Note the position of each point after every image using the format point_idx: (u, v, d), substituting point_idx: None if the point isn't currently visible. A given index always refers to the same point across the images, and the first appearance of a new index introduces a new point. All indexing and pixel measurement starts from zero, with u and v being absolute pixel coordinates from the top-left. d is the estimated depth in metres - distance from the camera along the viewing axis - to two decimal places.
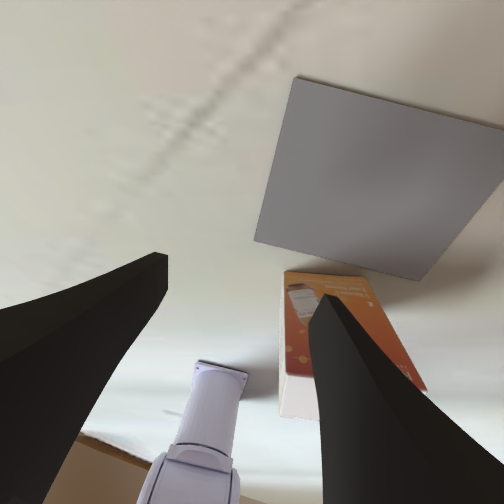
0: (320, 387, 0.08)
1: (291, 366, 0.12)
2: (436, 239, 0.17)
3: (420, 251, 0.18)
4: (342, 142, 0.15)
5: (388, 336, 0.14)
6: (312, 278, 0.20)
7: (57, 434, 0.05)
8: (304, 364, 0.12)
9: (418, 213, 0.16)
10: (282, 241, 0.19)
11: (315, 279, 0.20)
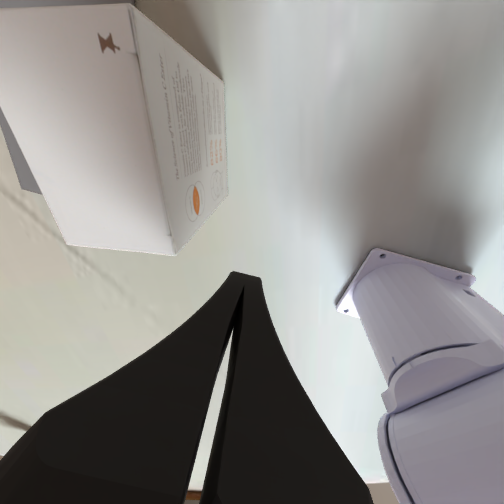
0: (229, 365, 0.08)
1: None
2: None
3: None
4: None
5: None
6: None
7: (192, 465, 0.05)
8: None
9: None
10: None
11: None
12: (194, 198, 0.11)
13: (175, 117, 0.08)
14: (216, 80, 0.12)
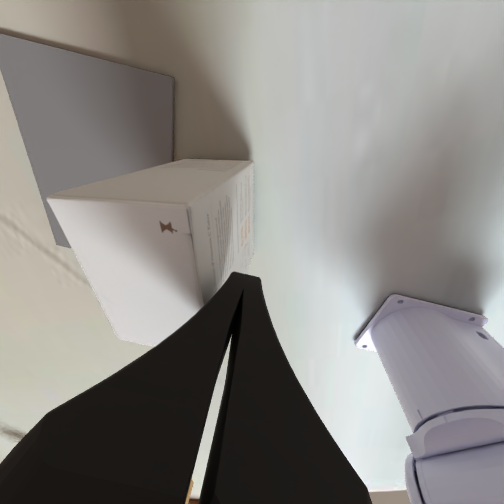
0: (228, 365, 0.08)
1: None
2: (110, 85, 0.14)
3: (130, 99, 0.14)
4: None
5: None
6: None
7: (194, 466, 0.05)
8: None
9: (93, 123, 0.15)
10: None
11: None
12: None
13: (216, 247, 0.09)
14: (248, 169, 0.13)
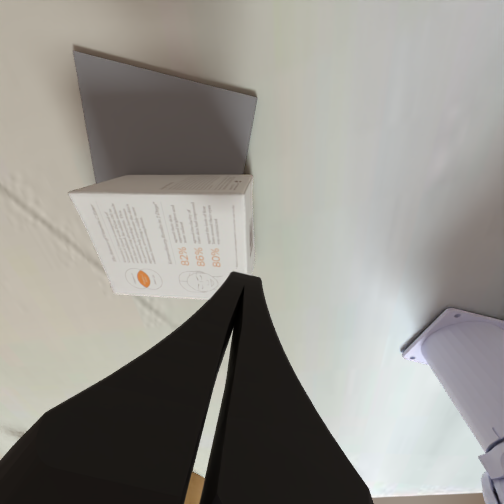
0: (229, 365, 0.08)
1: None
2: (191, 105, 0.14)
3: (210, 118, 0.14)
4: None
5: None
6: None
7: (192, 465, 0.05)
8: None
9: (167, 141, 0.15)
10: None
11: None
12: (140, 277, 0.15)
13: (109, 231, 0.13)
14: (203, 198, 0.11)
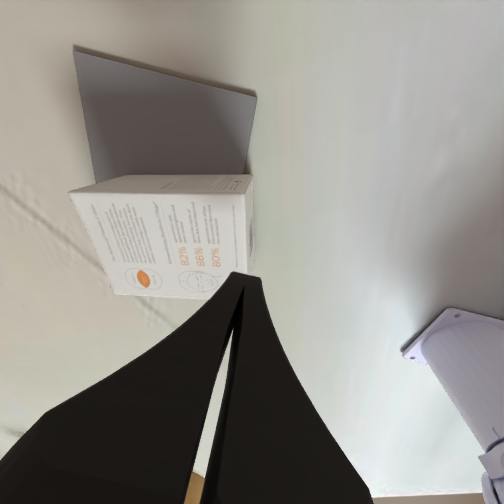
0: (229, 365, 0.08)
1: None
2: (191, 105, 0.14)
3: (210, 118, 0.14)
4: None
5: None
6: None
7: (192, 465, 0.05)
8: None
9: (166, 141, 0.15)
10: None
11: None
12: (140, 276, 0.15)
13: (109, 231, 0.13)
14: (203, 198, 0.11)
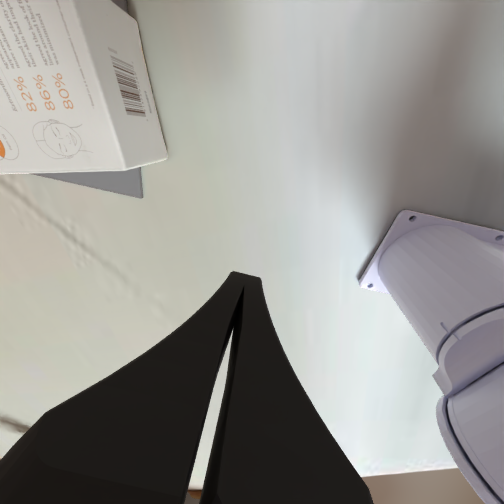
0: (228, 365, 0.08)
1: None
2: None
3: None
4: None
5: None
6: None
7: (193, 465, 0.05)
8: None
9: None
10: None
11: None
12: None
13: None
14: None
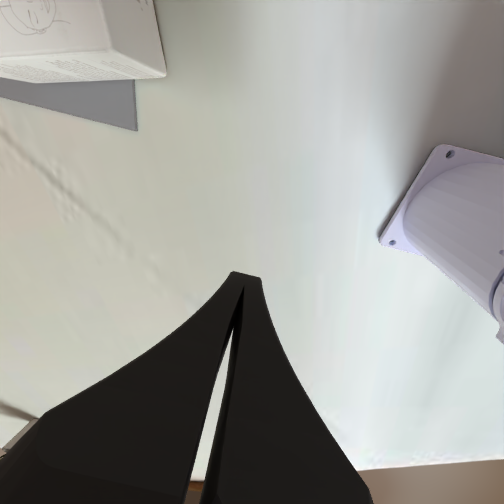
0: (229, 365, 0.08)
1: None
2: None
3: None
4: None
5: None
6: None
7: None
8: None
9: None
10: (123, 88, 0.15)
11: None
12: None
13: None
14: None
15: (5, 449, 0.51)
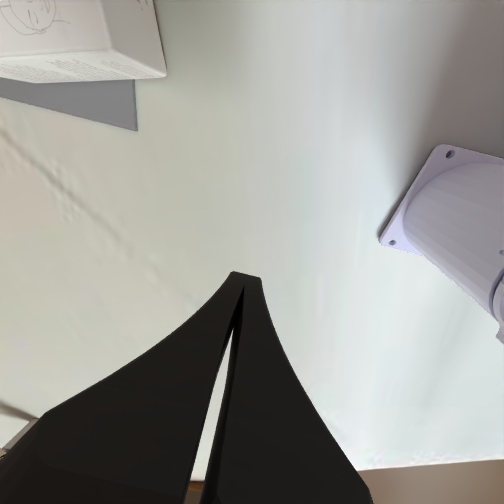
0: (229, 365, 0.08)
1: None
2: None
3: None
4: None
5: None
6: None
7: None
8: None
9: None
10: (123, 88, 0.15)
11: None
12: None
13: None
14: None
15: (5, 449, 0.51)
